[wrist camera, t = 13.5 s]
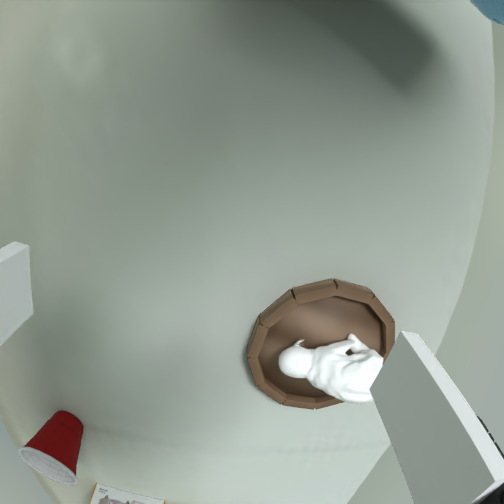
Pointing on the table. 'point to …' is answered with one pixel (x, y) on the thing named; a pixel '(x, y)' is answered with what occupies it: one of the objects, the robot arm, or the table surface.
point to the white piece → (335, 368)
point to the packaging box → (119, 497)
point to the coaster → (314, 335)
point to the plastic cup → (55, 448)
